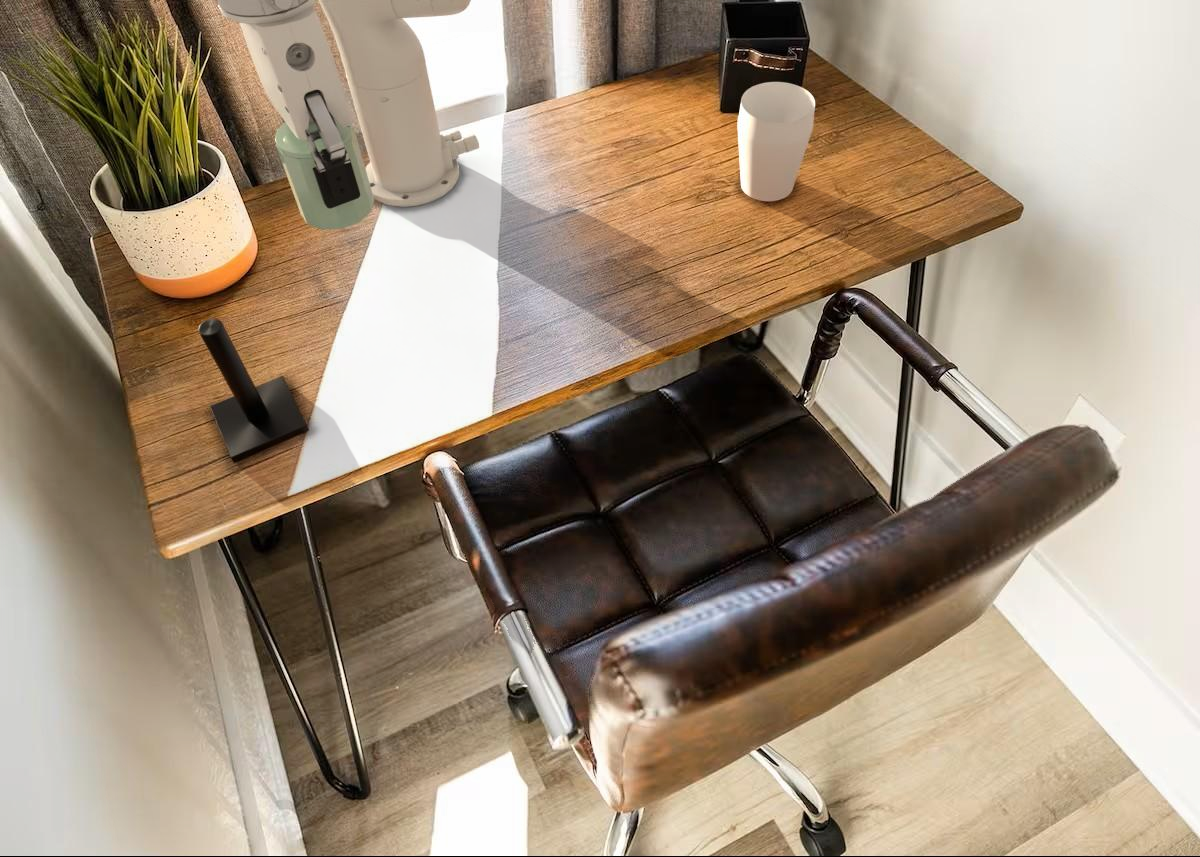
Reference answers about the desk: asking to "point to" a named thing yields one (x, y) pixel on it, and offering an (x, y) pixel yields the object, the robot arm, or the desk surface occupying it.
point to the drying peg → (249, 401)
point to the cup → (773, 138)
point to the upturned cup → (306, 186)
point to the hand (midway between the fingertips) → (327, 179)
